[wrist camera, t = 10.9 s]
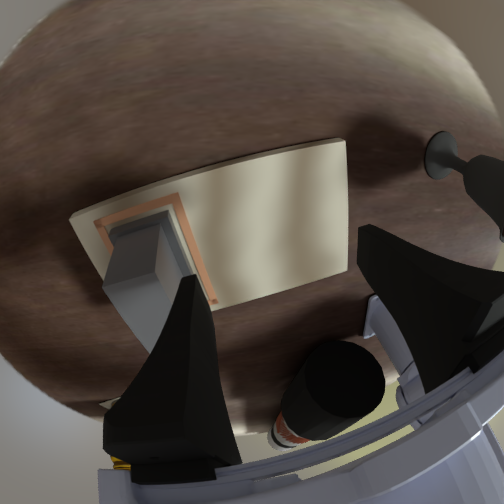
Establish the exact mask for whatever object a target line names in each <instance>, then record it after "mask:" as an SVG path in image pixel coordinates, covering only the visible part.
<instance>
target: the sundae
mask: <svg viewBox="0 0 504 504" xmlns="http://www.w3.org/2000/svg"><path fill="white" fill-rule="evenodd" d="M425 165H426V170H427V172H428V174H429V175H430V176H431V177H432V178H433V179H442V178H444V177H446V176H447V175H449V174H450V172H451V171H452V170H453V169H454V170H456V171H458V172H460V173H461V174H463V181H464V185H465V189H466V192H467V194H468V195H469V196H470V197H471V198H472V199H473V200H474V201H475V202H476V203H477V205H478V206H480V207H481V208H482V209H483V210H484V211H485V212H486V213H487V214H488V215H489V216H490V217H491V218H492V219H493V220H494V222H495V223H496V224H497V225H498V227H499V229H500V240H501V241H502V242H504V161H502V160H499V159H496V158H493V157H489V156H485V155H479V156H476V157H474V158H472V159H471V160H470V161H469V162H468V163H467V162H465V161H463V160H461V159H460V158H458V157H457V143H456V140H455V138H454V137H453V136H452V135H451V134H450V133H448V132H444V131H443V132H440V133H438V134H436V135H435V136H434V137H433V138H432V140H431V141H430V143H429V145H428V147H427V151H426V156H425Z"/></svg>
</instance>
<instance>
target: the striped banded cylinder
mask: <svg viewBox="0 0 504 504" xmlns="http://www.w3.org/2000/svg"><path fill="white" fill-rule="evenodd" d="M384 393H385V378H384V374H383V371H382V367H381V366H380V364H379V363H378V361H377V360H376V359H375V357H374V356H373V355H372V354H371V353H370V352H369V351H367V350H366V349H365V348H363V347H361V346H359V345H357V344H355V343H352V342H346V341H340V340H337V341H332V342H327V343H324V344H322V345H320V346H319V347H317V348H316V349H315V350H314V351H313V352H312V353H311V354H310V356H309V357H308V358H307V360H306V361H305V363H304V365H303V366H302V368H301V369H300V371H299V372H298V374H297V375H296V377H295V378H294V380H293V381H292V383H291V384H290V386H289V387H288V389H287V390H286V391H285V393H284V395H283V398H282V401H281V410H282V411H281V412H280V414H279V415H278V417H277V419H276V422H275V423H274V425H273V426H272V428H271V429H270V430H269V432H268V435H267V439H268V443H269V444H270V445H271V446H272V448H274V449H276V450H279V451H287V450H290V449H291V448H293V447H296V446H297V445H300V444H302V443H304V442H305V443H306V442H308V441H310V440H312V441H316V440H327V439H328V438H331V437H332V436H335V435H336V434H338V433H340V432H342V431H343V430H345V429H346V428H348V427H350V426H351V425H353V424H354V423H356V422H357V421H359V420H360V419H362V418H363V417H365V416H366V415H368V414H369V413H371V412H372V411H373V410H374V409H375V408H376V407H377V406H378V405H379V404H380V403H381V401H382V398H383V395H384Z"/></svg>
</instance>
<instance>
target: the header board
mask: <svg viewBox="0 0 504 504" xmlns="http://www.w3.org/2000/svg"><path fill="white" fill-rule="evenodd" d="M69 221H70V223H71V225H72V227H73V229H74V231H75V232H76V234H77V236H78V238H79V240H80V242H81V244H82V245H83V247H84V249H85V251H86V252H87V254H88V256H89V258H90V259H91V261H92V263H93V264H94V266H95V268H96V269H97V271H98V273H99V274H100V276H101V278H102V279H103V281H104V278H105V275H106V271H107V268H108V265H109V261H110V258H111V255H112V252H113V249H114V246H115V243H116V240H117V237H120V236H123V235H126V234H129V233H132V232H135V231H138V230H142V229H145V228H148V227H151V226H154V225H157V224H160V223H161V226H162V228H163V231H164V233H165V236H166V238H167V240H168V243H169V245H170V248H171V250H172V252H173V255H174V257H175V259H176V262H177V264H178V266H179V268H180V271H181V273H182V275H183V277H185V276H189V275H193V274H196V275H197V277H198V279H199V282H200V284H201V287H202V289H203V291H204V294H205V296H206V298H207V301H208V303H209V305H210V309H211V311H213V310H217V309H221V308H225V307H228V306H232V305H235V304H239V303H243V302H246V301H250V300H253V299H257V298H260V297H263V296H267V295H270V294H274V293H277V292H280V291H284V290H287V289H290V288H294V287H297V286H300V285H303V284H307V283H310V282H313V281H316V280H319V279H322V278H326V277H329V276H332V275H335V274H338V273H341V272H344V271H347V257H348V182H347V158H346V142H345V140H343V139H341V138H333V139H327V140H321V141H315V142H310V143H305V144H299V145H294V146H289V147H285V148H280V149H275V150H271V151H266V152H262V153H257V154H253V155H249V156H245V157H241V158H237V159H233V160H229V161H225V162H222V163H218V164H214V165H210V166H207V167H203V168H200V169H196V170H193V171H190V172H186V173H183V174H180V175H176V176H173V177H170V178H167V179H164V180H161V181H158V182H155V183H152V184H149V185H146V186H143V187H140V188H137V189H134V190H131V191H129V192H126V193H123V194H120V195H118V196H115V197H112V198H110V199H107V200H104V201H102V202H99V203H97V204H94V205H92V206H89V207H87V208H84V209H82V210H79V211H77V212H75V213H73V214H72V216H71V217H70V219H69Z"/></svg>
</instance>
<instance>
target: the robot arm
mask: <svg viewBox="0 0 504 504" xmlns="http://www.w3.org/2000/svg"><path fill="white" fill-rule="evenodd" d="M357 264H358V266H359V268H360V270H361V272H362V274H363V276H364V277H365V279H366V281H367V282H368V284H369V285H370V286H371V288H372V289H373V290H374V292H375V293H376V295H373V296H371V297H370V298H369V302H368V308H367V314H366V320H365V326H364V331H363V338H368V337H371V336H373V335H376V336H377V338H378V340H379V341H380V343H381V345H382V346H383V348H384V350H385V351H386V353H387V355H388V356H389V358H390V360H391V361H392V363H393V365H394V367H395V368H396V370H397V372H398V374H399V375H400V377H399V378H397V380H398V382H399V384H400V385H399V386H398V387H397V389H396V401H397V404H398V407H399V409H398V410H397V411H395V412H393V413H391V414H389V415H387V416H384V417H382V418H380V419H378V420H376V421H374V422H372V423H369V424H367V425H365V426H363V427H360V428H358V429H356V430H353V431H351V432H348V433H346V434H343V435H341V436H338V437H336V438H333V439H330V440H328V441H325V442H322V443H319V444H316V445H313V446H310V447H306V448H304V449H300V450H297V451H293V452H290V453H287V454H283V455H279V456H275V457H271V458H267V459H263V460H259V461H255V462H249V463H245V464H242V460H241V457H240V453H239V450H238V447H237V444H236V441H235V437H234V434H233V430H232V427H231V423H230V420H229V416H228V412H227V408H226V404H225V400H224V396H223V391H222V387H221V382H220V376H219V369H218V359H217V349H216V338H215V328H214V323H213V318H212V313H211V309H210V305H209V303H208V301H207V298H206V296H205V294H204V291H203V289H202V287H201V284H200V282H199V279H198V277H197V275H196V274H193V275H189V276H185V277H182V278H181V280H180V283H179V287H178V290H177V293H176V296H175V299H174V301H173V304H172V307H171V309H170V312H169V315H168V317H167V320H166V322H165V324H164V327H163V329H162V331H161V334H160V336H159V338H158V340H157V342H156V344H155V346H154V348H153V350H152V351H151V353H150V355H149V357H148V358H147V360H146V362H145V363H144V365H143V367H142V368H141V370H140V371H139V373H138V375H137V376H136V377H135V379H134V380H133V381H132V383H131V384H130V386H129V387H128V388H127V390H126V391H125V392H124V393H123V395H122V396H121V397H120V398H119V399H118V400H117V401H116V403H115V404H114V405H113V406H112V407H111V408H110V409H109V410H108V411H107V412H106V414H105V415H104V422H103V449H104V450H105V452H106V453H107V454H109V455H111V456H113V457H115V458H117V459H119V460H122V461H124V462H126V463H129V464H130V468H131V471H128V470H115V469H99V470H98V491H99V504H504V452H503V450H502V448H501V446H500V444H499V442H498V440H497V438H496V437H495V434H494V433H493V431H492V429H491V427H490V425H489V423H488V421H490V420H491V418H493V417H494V416H495V415H496V414H497V413H498V412H499V411H500V410H501V409H502V408H503V407H504V272H501V271H493V270H487V269H482V268H477V267H473V266H469V265H465V264H462V263H459V262H455V261H452V260H449V259H447V258H444V257H441V256H438V255H436V254H433V253H431V252H429V251H426V250H424V249H422V248H420V247H417V246H415V245H413V244H411V243H409V242H407V241H405V240H403V239H401V238H399V237H397V236H395V235H393V234H391V233H389V232H387V231H385V230H383V229H380V228H378V227H376V226H374V225H371V224H368V225H364V226H361V227H358V248H357ZM409 424H410V425H411V426H412V427H413V428H414V430H415V431H413V432H411V433H409V434H407V435H406V436H404V437H402V438H400V439H398V440H396V441H394V442H392V443H390V444H389V445H386V446H384V447H382V448H380V449H378V450H376V451H374V452H372V453H370V454H368V455H366V456H363V457H361V458H359V459H357V460H355V461H352V462H350V463H348V464H345V465H343V466H340V467H338V468H335V469H333V470H331V471H328V472H325V473H323V474H320V475H317V476H314V477H311V478H308V479H305V480H301V479H300V478H298V475H297V474H291V475H285V476H280V477H275V476H279V475H283V474H287V473H290V472H294V471H298V470H301V469H304V468H308V467H311V466H314V465H317V464H320V463H323V462H326V461H328V460H331V459H334V458H337V457H340V456H342V455H345V454H347V453H350V452H352V451H355V450H357V449H359V448H362V447H364V446H366V445H369V444H371V443H373V442H375V441H377V440H380V439H382V438H384V437H386V436H388V435H390V434H392V433H394V432H396V431H398V430H400V429H402V428H403V427H405V426H407V425H409ZM271 477H274V478H271ZM267 478H268V479H267ZM262 479H263V480H262Z"/></svg>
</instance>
